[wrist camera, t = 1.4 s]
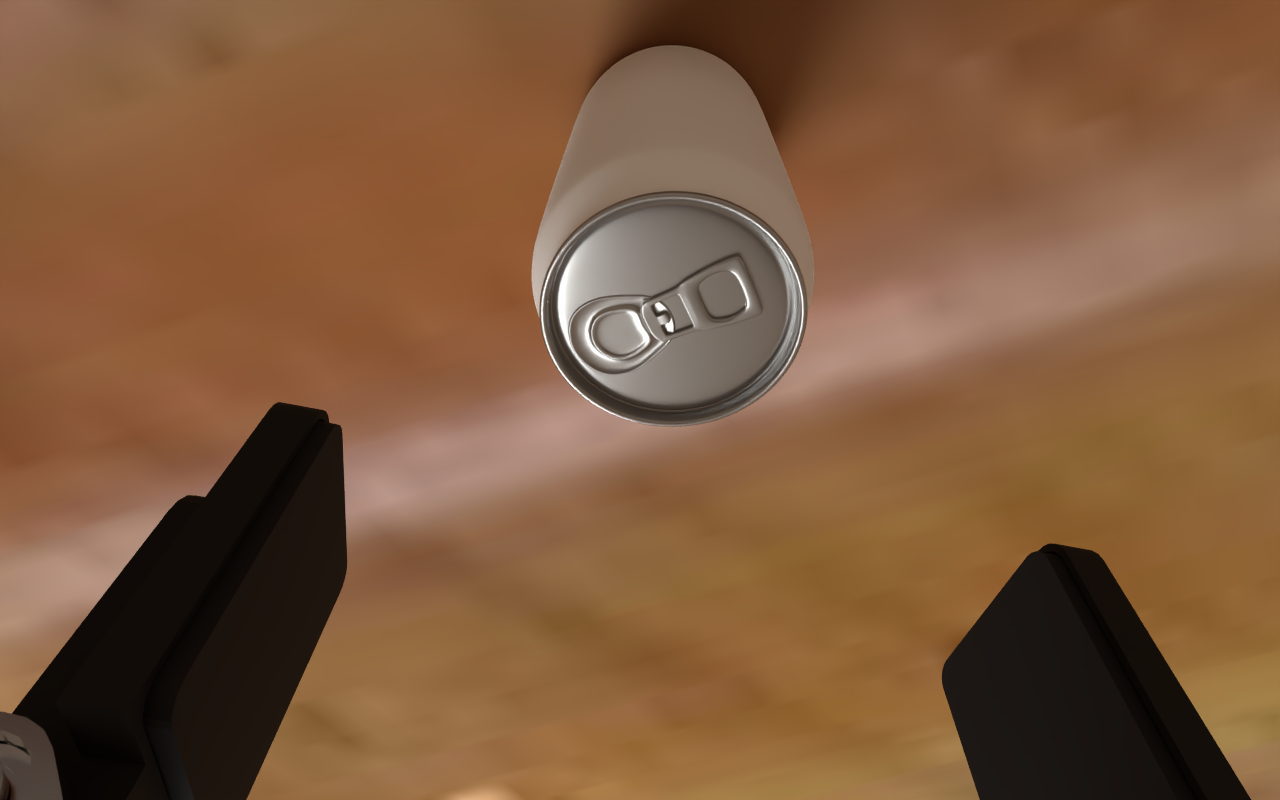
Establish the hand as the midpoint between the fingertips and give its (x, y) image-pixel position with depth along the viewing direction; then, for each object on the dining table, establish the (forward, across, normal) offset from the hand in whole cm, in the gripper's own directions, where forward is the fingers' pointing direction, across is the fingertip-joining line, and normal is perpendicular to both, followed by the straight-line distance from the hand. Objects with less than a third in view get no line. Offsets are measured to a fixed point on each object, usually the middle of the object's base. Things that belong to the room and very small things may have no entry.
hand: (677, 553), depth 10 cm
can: (+19, 0, 0) cm, 19 cm away
